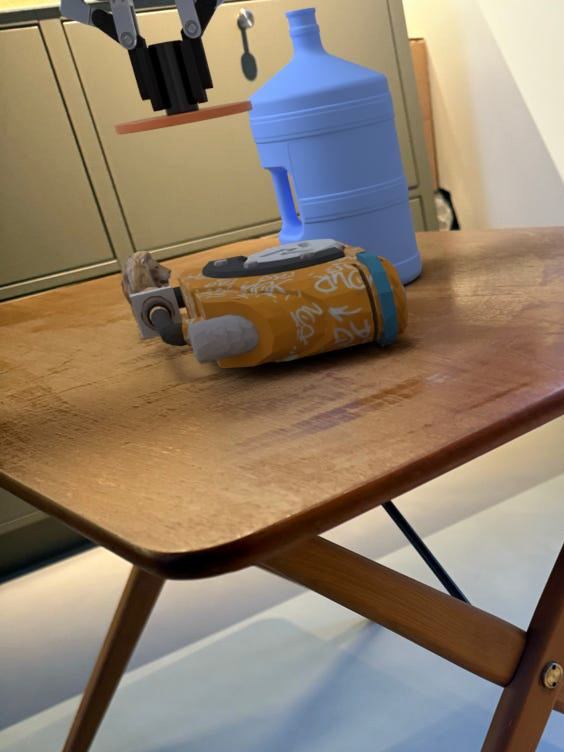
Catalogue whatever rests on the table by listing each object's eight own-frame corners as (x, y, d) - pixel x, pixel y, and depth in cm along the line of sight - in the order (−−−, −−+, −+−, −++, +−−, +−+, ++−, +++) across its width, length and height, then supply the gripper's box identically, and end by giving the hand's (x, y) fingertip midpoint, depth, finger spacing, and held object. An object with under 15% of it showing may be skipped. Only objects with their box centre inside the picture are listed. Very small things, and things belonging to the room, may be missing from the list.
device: (141, 312, 83) (118, 266, 108) (172, 412, 87) (144, 345, 112) (407, 250, 88) (327, 219, 113) (425, 347, 92) (344, 297, 117)
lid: (106, 138, 72) (80, 54, 69) (127, 130, 80) (106, 55, 78) (249, 112, 72) (229, 28, 70) (255, 107, 81) (238, 32, 78)
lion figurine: (191, 333, 114) (166, 247, 109) (143, 345, 112) (115, 259, 108) (170, 313, 126) (146, 235, 121) (126, 324, 124) (100, 245, 120)
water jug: (435, 263, 127) (390, -4, 113) (406, 294, 114) (350, -4, 100) (315, 279, 130) (257, 22, 116) (273, 310, 117) (201, 25, 103)
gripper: (224, -219, 70) (291, 86, 80) (-14, -179, 70) (81, 124, 79) (216, -248, 64) (289, 87, 73) (-47, -204, 63) (60, 129, 72)
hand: (180, 104), depth 76 cm, fingers closed on lid, 2 cm apart
